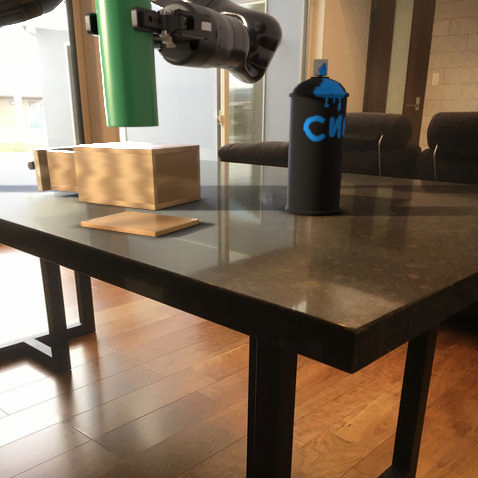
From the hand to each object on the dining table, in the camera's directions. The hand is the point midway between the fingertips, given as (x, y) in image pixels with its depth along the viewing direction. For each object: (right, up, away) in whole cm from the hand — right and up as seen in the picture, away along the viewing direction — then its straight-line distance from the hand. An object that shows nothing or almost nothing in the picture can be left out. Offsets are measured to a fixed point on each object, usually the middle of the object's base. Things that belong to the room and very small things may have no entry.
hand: (111, 20), depth 57 cm
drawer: (-13, -10, +33) cm, 37 cm away
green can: (+1, -9, +6) cm, 11 cm away
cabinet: (-2, -13, +28) cm, 31 cm away
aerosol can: (+25, -17, +19) cm, 36 cm away
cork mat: (+2, -21, +9) cm, 23 cm away
